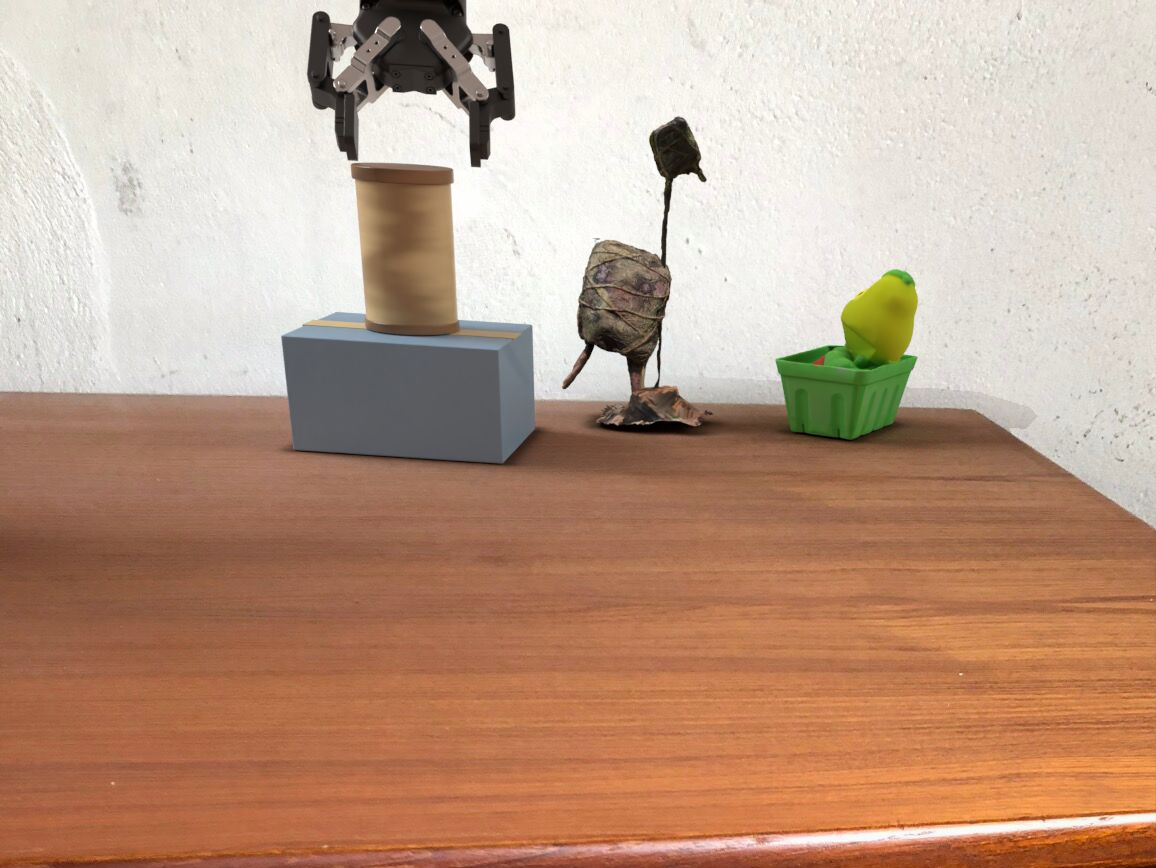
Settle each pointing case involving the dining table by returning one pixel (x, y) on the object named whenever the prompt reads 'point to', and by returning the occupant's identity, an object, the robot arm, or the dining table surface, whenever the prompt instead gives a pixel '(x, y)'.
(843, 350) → the fruit basket
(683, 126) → the brown bird sculpture
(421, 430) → the blue box
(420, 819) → the dining table surface
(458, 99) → the robot arm
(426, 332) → the tan lidded canister
